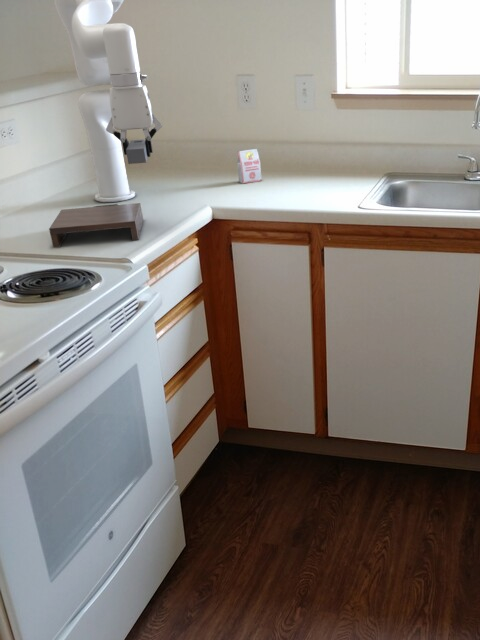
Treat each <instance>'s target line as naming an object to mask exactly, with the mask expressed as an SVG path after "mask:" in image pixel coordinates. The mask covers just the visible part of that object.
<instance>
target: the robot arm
mask: <svg viewBox="0 0 480 640" xmlns="http://www.w3.org/2000/svg"><path fill="white" fill-rule="evenodd" d="M123 2H124V0H53V3H54V8H55V10H56V13H57V15H58V17H59V20H60V21H61V23H62V25H63V26H64V28H65V30H66V33H67V36H68V39H69V44H70V48H71V53H72V58H73V63H74V66H75V71H76V75H77V78H78V80H79V82H80V83H81V84H82V85H84V86H88V87H93V86H95V87H96V86H106V85H111V87H109V89H98V90H97V89H96V90H89V91H86V92H84V93H83V94H81V95H80V96H79V98H78V102H77V103H78V104H77V105H78V109H79V113H80V116H81V119H82V121H83V125H84V127H85V131H86V135H87V139H88V144H89V149H90V153H91V154H90V155H91V158H92V165H93V170H94V173H95V179H96V185H97V188H98V193H97V194H95V195H94V200H95V201H96V202H99V203H116V202H123V201H126V200H130V199H133V198H134V197H135V196H136V191H134V190H132V189H130V186H129V181H128V175H127V169H126V164H125V158H124V155H125V156H127V153H126V149H127V147H128V145H129V143H130V141H129V140H128V138H127V131H129V130H131V131H132V130H142V132H143V134H144V136H145V138H144V139H146V140H145V145H146V151H147V156H148V158H151V156H152V153H153V152H154V149H153V144H152V138H154V136H155V135H156V133H157V132H158V131H160V130H161V128H162V127H163V124H162V122H161V121H160V120H159V119H158V118H157V117H156V116H155V114H154V113H153V109H152V104H151V99H150V95H149V91H148V88H147V86H146V84H143V83H144V82H145V81H148V74H144V73H142V71H141V66H140V61H139V56H138V55H139V54H138V49H137V39H136V35H135V31H134V29H133V27H132V26H131V25H129V24H127V23H123V22H119V23H118V22H117V23H109V22H110V21H111V19H112V18H113V16H114V15H113V14H115V13H117V12H118V10H119V9H120V8H121V6H122V4H123ZM153 124H154V127H152V126H153ZM151 127H152V128H151ZM150 128H151V130H150Z"/></svg>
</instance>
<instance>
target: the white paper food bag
mask: <svg viewBox="0 0 480 640" xmlns="http://www.w3.org/2000/svg"><path fill="white" fill-rule="evenodd" d="M236 166H237V175H238V182H239V183H240V184H243V185H245V184H250V183H257V182H262V167H261V160H260V156H259V151H258V148H252V149H244V150H238V151H237V162H236Z"/></svg>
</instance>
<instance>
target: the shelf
mask: <svg viewBox="0 0 480 640" xmlns="http://www.w3.org/2000/svg"><path fill="white" fill-rule="evenodd" d="M110 205H111V206H102V205H98V206H99V207H94V206H89V207H87V206H86V207H78V208H77V207H75V208H66V209H60V210H59V213H58V214H57V215H56V217H55V219H54V220H53V222H52V223H51V225H50V226H49V228H48V230H49V234H50V239H51V243H52V247H53V248H60V247H61V246H62V243H63V241H64V239H65V238H66V236H67V234H70V233H82V232H92V231H93V232H94V231H104V230H105V231H106V230H115V229H126V228H130V234H131V238H132V241H139V238H140V235H141V231H142V227H143V225H144V224H143V223H144V216H143V210H142V203H141V202H137V203H124V204H118V205H113V204H110Z"/></svg>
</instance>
